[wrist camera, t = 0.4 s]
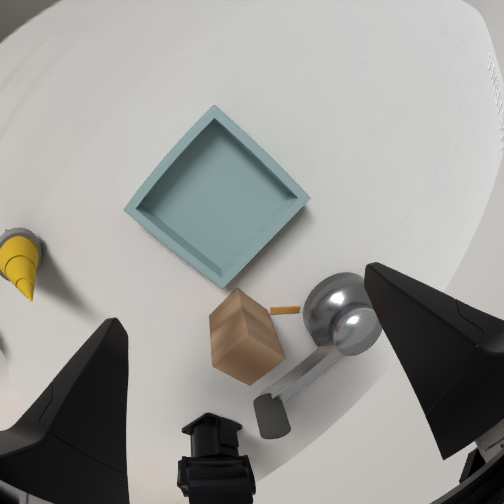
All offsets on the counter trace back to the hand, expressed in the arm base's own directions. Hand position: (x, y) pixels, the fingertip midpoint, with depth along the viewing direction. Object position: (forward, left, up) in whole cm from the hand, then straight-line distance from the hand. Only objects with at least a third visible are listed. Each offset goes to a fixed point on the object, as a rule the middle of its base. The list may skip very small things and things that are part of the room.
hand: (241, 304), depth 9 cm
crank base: (0, -15, -14) cm, 21 cm away
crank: (-5, -16, -11) cm, 20 cm away
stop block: (-6, -8, -14) cm, 18 cm away
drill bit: (-14, +12, -14) cm, 24 cm away
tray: (+1, +1, -14) cm, 14 cm away
